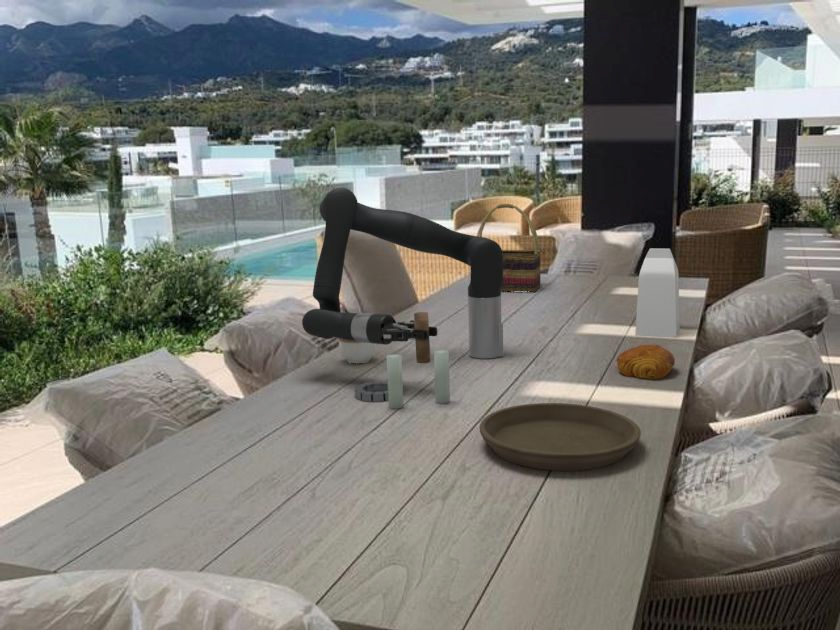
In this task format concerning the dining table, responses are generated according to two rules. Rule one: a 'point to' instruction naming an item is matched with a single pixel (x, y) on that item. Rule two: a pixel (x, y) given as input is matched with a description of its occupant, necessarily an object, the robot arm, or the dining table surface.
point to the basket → (519, 261)
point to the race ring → (366, 393)
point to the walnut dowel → (422, 345)
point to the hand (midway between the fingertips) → (432, 333)
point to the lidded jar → (356, 350)
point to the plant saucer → (559, 436)
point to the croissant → (646, 362)
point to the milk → (658, 296)
